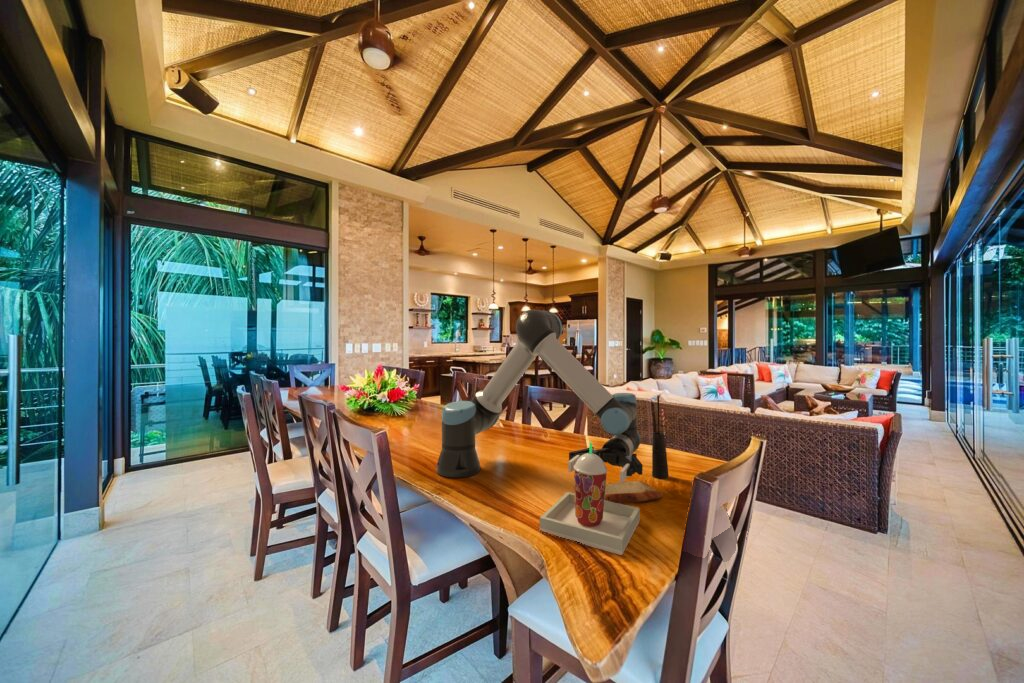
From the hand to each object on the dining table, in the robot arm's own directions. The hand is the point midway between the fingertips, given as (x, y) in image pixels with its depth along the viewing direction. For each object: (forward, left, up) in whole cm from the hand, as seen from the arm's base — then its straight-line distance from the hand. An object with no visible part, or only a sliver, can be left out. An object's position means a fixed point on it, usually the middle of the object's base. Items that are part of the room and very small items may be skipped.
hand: (594, 471), depth 101 cm
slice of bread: (+3, +21, -14) cm, 26 cm away
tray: (0, -2, -13) cm, 14 cm away
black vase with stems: (+9, +45, -14) cm, 48 cm away
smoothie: (-1, -2, -13) cm, 13 cm away
